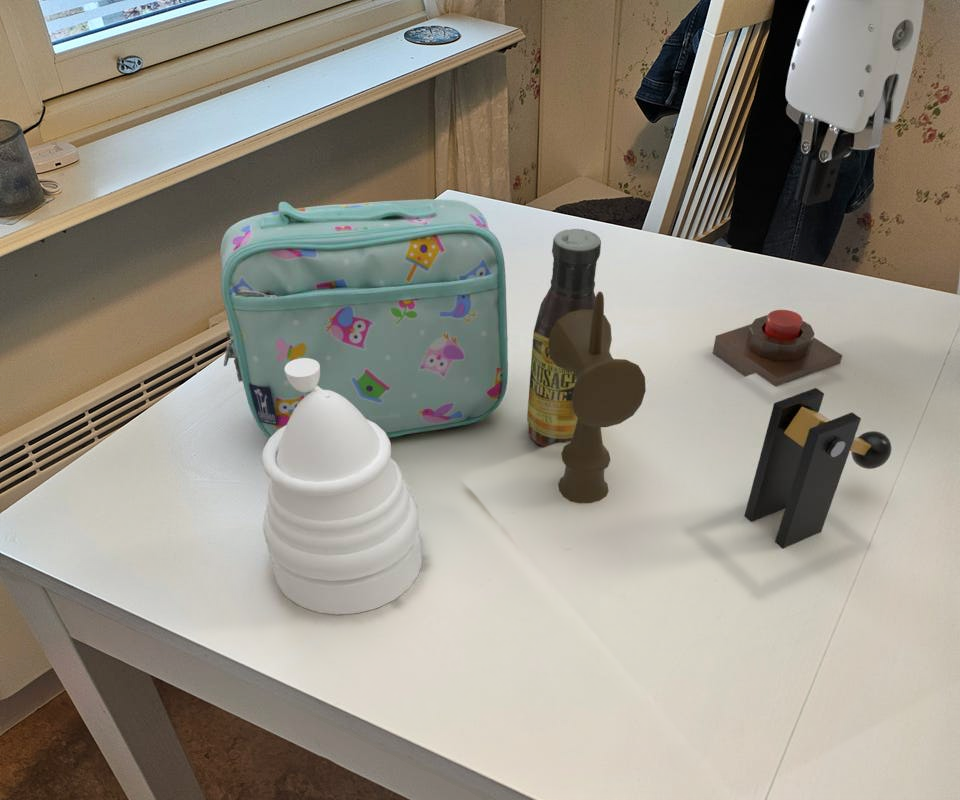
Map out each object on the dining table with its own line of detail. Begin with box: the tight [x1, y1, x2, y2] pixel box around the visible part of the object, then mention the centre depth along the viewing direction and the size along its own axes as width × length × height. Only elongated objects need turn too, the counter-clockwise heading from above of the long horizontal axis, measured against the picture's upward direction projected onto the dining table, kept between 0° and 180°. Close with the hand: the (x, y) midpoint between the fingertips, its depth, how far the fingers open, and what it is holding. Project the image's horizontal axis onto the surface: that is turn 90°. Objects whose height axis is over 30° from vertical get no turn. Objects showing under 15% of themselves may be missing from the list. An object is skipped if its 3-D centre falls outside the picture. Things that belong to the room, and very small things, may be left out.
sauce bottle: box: [526, 228, 602, 448], centre depth 83 cm, size 7×6×20 cm
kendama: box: [548, 291, 647, 505], centre depth 76 cm, size 6×10×20 cm, turn 11°
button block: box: [712, 314, 843, 387], centre depth 97 cm, size 9×10×4 cm
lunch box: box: [219, 198, 509, 439], centre depth 85 cm, size 27×10×21 cm, turn 102°
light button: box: [764, 309, 804, 340], centre depth 95 cm, size 4×4×2 cm
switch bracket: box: [744, 387, 862, 549], centre depth 75 cm, size 12×9×13 cm
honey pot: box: [261, 358, 423, 616], centre depth 71 cm, size 13×13×18 cm
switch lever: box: [784, 407, 892, 470], centre depth 75 cm, size 13×3×3 cm, turn 119°
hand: (812, 199), depth 86 cm, fingers closed
